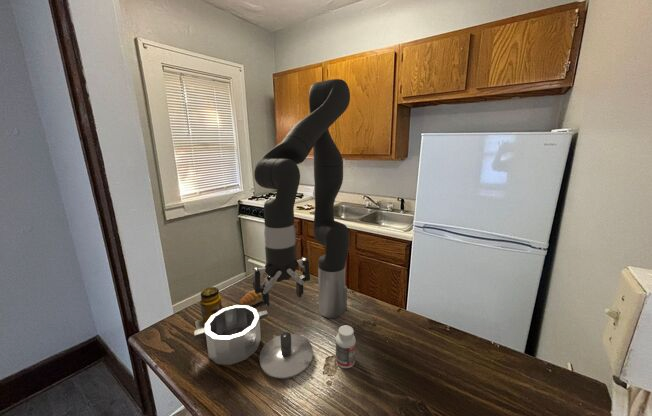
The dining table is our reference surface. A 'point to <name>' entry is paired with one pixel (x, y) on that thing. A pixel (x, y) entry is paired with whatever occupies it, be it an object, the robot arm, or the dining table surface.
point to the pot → (232, 334)
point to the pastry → (251, 298)
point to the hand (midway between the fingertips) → (283, 300)
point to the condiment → (209, 305)
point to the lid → (286, 356)
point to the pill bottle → (345, 347)
